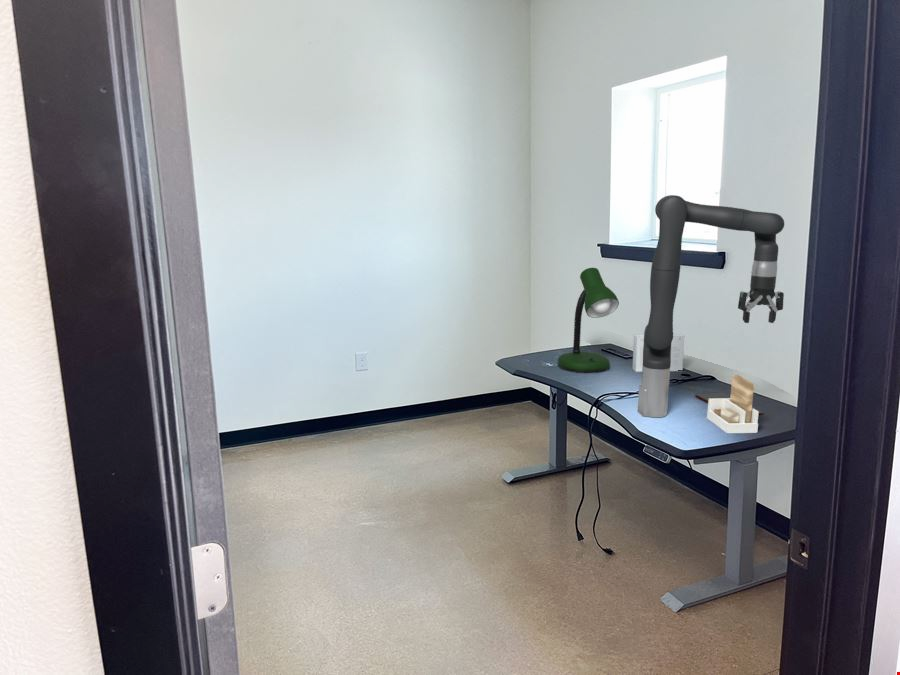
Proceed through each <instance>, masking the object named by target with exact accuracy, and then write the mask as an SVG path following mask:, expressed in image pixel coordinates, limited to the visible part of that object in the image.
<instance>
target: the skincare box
mask: <svg viewBox="0 0 900 675" xmlns="http://www.w3.org/2000/svg"><path fill="white" fill-rule="evenodd" d="M643 346H644V334H633V351H632V370H633V371H634V372H635V373H642V367H643ZM684 347H685V335H683V334H679V333H678V334H676V333H675V334H674V333H673V340H672V342H671V365H670V372H679V371H678V370H683V367H684V354H685V352H684Z"/></svg>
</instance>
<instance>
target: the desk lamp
mask: <svg viewBox="0 0 900 675" xmlns="http://www.w3.org/2000/svg"><path fill="white" fill-rule="evenodd" d="M579 279H580V282H581V284H582V286H583V287H582V288H583V291H581V293H580V295H579V297H578V298H577V303H576V307H575V311H574V320H573V321H574V326H573V331H574V332H573V342H572V343H573V344H572V345H573V346H572V347H573V349H572V352H567V353H566V352H565V353H563V354H561V355H559V356H558V358H557V366H558V367H559V368H560V369H562V370H564V371H567V372H571V373H572V372H573V373H580V374H581V373H582V374H588V373H589V374H591V373H594V374H595V373H602V372H606V371H609V370H610V368H611V367H610V364H611V363H610V362H611V361H610V359H609V358H608V357H607V356H605V355H603V354H599V353H597V352H588V351H587V352H586V351H581V335H582V334H581V333H582V332H581V328H582V315H583V310H585V313H586V315H587V316H588V317H589V318H595V319H597V318H598V319H599V318H604V317H607V316H609V315H610V314H612V313H614V312H615V311H616V310H617V309H618V307H619V304H620V302H619V299H618V296H617V295H616V294H615V293H614V291H613V290H612V289H610V288H609V287H608V286H606V284H605V282H604V280H603V278H602V275H601V273H600V271H599V269H598V268H597V267H589V268H585V269H584V270H582V272H580V275H579Z"/></svg>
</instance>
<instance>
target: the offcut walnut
mask: <svg viewBox="0 0 900 675" xmlns="http://www.w3.org/2000/svg"><path fill="white" fill-rule="evenodd" d="M714 413H715V414H717V415H718V416H719V417H721V409H714Z"/></svg>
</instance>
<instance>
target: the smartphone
mask: <svg viewBox="0 0 900 675" xmlns="http://www.w3.org/2000/svg"><path fill="white" fill-rule="evenodd" d="M730 396H731V395H730ZM730 396H729V395H727V394H725V393H723V392H718V391H716V392H704V393H703V392H702V393H696V394H695V395H694V397H695V398H696V399H698V400H701V401H703V402H704V403H706V404H708V400H709V399H713V398H730ZM752 408H754V409H755V410H757V411H758V412H759V413H758V416H761V415H762V416H763V415H765V413H764V412H763V411H761V410H759V409H756V408H755V407H753V406H752Z"/></svg>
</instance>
